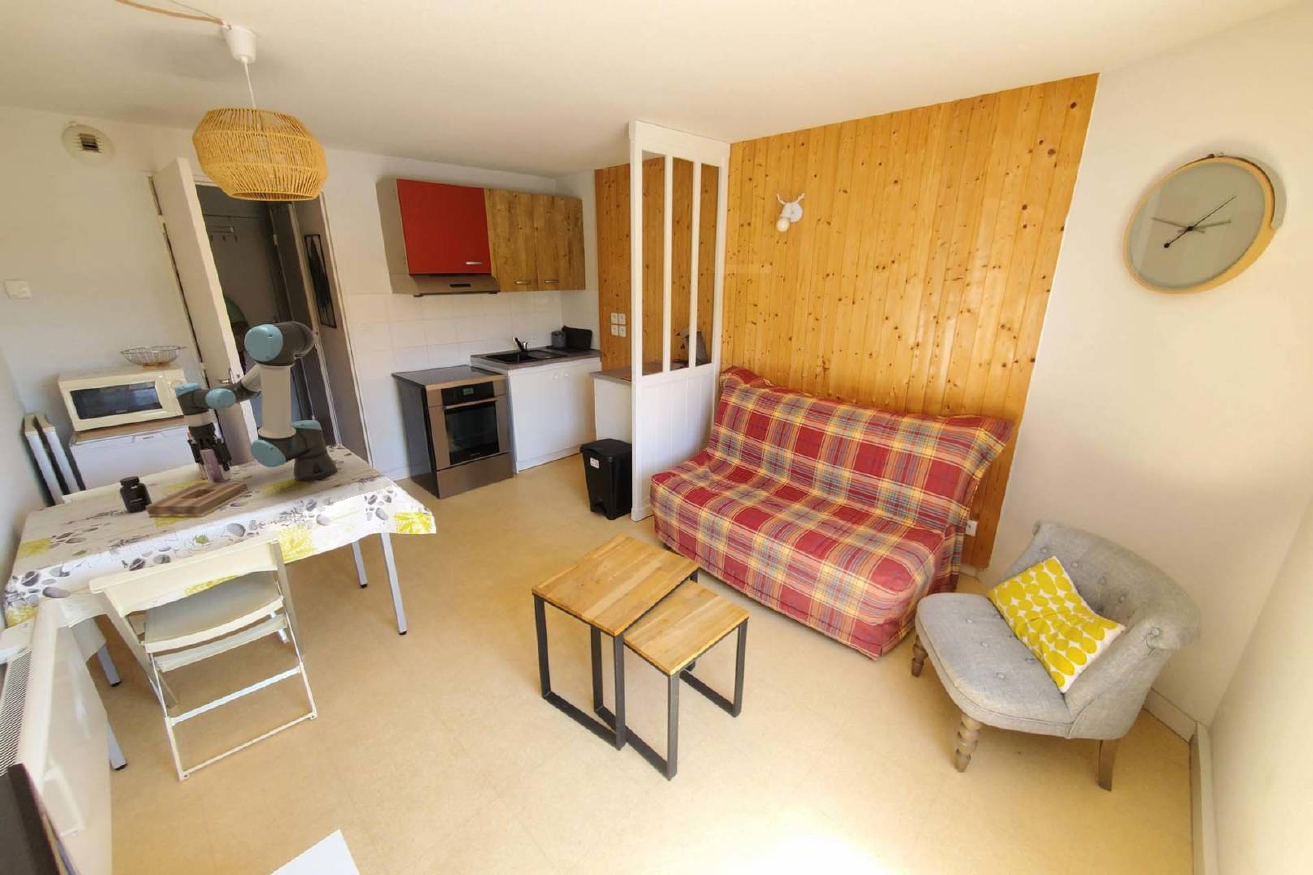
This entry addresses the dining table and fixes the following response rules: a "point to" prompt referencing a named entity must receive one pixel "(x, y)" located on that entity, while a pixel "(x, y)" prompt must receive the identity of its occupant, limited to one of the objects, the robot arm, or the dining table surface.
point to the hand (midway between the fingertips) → (220, 478)
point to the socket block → (197, 500)
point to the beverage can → (212, 466)
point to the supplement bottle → (134, 494)
